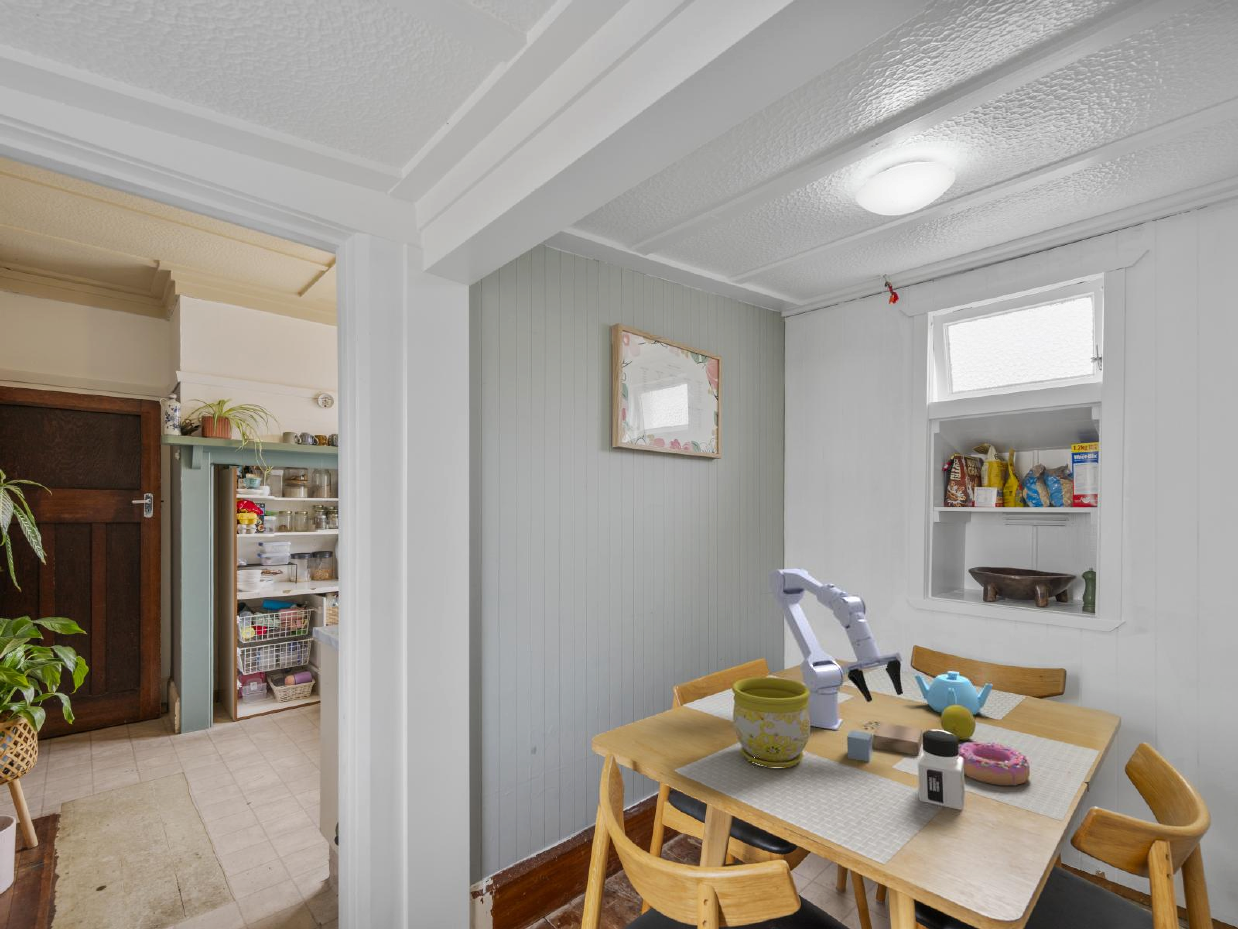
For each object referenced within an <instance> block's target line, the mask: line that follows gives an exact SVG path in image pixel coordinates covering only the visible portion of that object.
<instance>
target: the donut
mask: <svg viewBox="0 0 1238 929" xmlns="http://www.w3.org/2000/svg"><path fill="white" fill-rule="evenodd" d="M958 749H959V757H962V758H963V759H964V776H965V775H966V776H967V777H969V778H971V779H974V780H975V781H979V782H982V783H986V784H989V783H990V785H995V786H1004V785H1006V786H1009V785H1010V786H1017V785H1018V784H1019V785H1021V784H1024V783H1025V782H1027V781H1028V779H1029V777H1030V773H1031V770H1030V769H1031V768H1030V767H1031V766H1030V763H1029V762H1028V760H1027V756H1025V755H1023V753H1021V752H1019V751H1018V750H1016V749H1013V748H1011V747H1010V746H1009V747H1008V746H1005V745H1002V744H998V743H996V744H995V743H994V742H992V743H991V742H979V741H978V742H977V741H973V742H970V741H969V742H964V743H961V744H958Z"/></svg>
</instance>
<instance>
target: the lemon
mask: <svg viewBox="0 0 1238 929" xmlns="http://www.w3.org/2000/svg"><path fill="white" fill-rule="evenodd" d="M940 724H941V727H942V730H943V731H947V732H949V733H951V734H953V735H955V736H956V737H957V738H958V741H965V740H968V739H970V738H971V737H973V734H974V733H975V730H976V718H975V716H973V715H972V714H971V712H970V711H969V710H968V709H966V708H965V707H963V706H960V705H952V706H949V707H947V708H946V709H945V710H944V711H943V713H941V715H940Z"/></svg>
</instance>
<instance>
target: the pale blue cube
mask: <svg viewBox="0 0 1238 929" xmlns="http://www.w3.org/2000/svg"><path fill="white" fill-rule="evenodd" d="M846 738H847V739H846V742H847V743H846V744H847V759H851V760H852V759H853V760H857V761H861V760H863V761H862V762H867V763H870V761H871V759H872V757H873V755H874V754H873V733H871V732H864V731H859V730H854V729H853V730H852V729H850V731H849V733H848V734H847V736H846Z"/></svg>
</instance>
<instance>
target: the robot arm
mask: <svg viewBox="0 0 1238 929" xmlns="http://www.w3.org/2000/svg"><path fill="white" fill-rule="evenodd" d="M768 584H769V587H770V589H771V591H772V594H773V595H774V598H775V599H776V601H777V603H778V607H779V608H780V610H781V612H782V614H783V616H784V618H785V621H786V622H787V625H788V627H789V629H790V632H791V633H792V635H793V638H794V640H795V642H796V643H797V646H798V648H799V650H800V652H801V655H802V656H803V658H804V659H803V661H802V662H801V664H800V671H801V676H802V680H803V683H804V685H805V686H806V687H808V688H809V690H810V696H809V698H808V701H809V705H808V709H809V715H810V727H816V728H821V729H822V728H823V729H828V730H835V731H837V730H838V729H839V728H840V726H841V724H842V723H843V718H839V694H838V692H840V690H841V687H842V686H843V684H844V682H845V675H847V678H848V680H849V681H851V682H852V683H853V684H854V685H855V687H856V688H857V689H858V690H859V691H860V692H861V694H862V696H863V698H864V699H865V701H866V702H867V703H870V702H872V701H873V697H872V694H871V692H870V690H869V687H868V685H867V683H866V679H865V675H864V672H863V670H864V671H865V670H868V669H872V668H877V667H881V666H886V667H885V671H886V673H887V675H888V676H889V678H890V681H891V682H892V685H893V688H894V690H895V692H896V694H897V696H901V695H903V694H904V691H903V687H902V681H901V680H902V678H901V667H902V664H901V662H902V661H903V658H902V656H901V653H900V652H894V653H888V654H882V655H881V652H880V650H879V647H878V646H877V645H878V644H877V643H876V640H875V637H874V635H873V633H872V631H871V628H870V626H869V624H868V621H867V619H866V616H865V615H866V613H867V612H866V611H867V608H866V607H867V606H866V603H865V601H864V599H863V598H862V597H860V596H859V595H858V594H857V595H856V594H853V595H850V594H848V593H847V592H846V591H844V590H843V591H842V590H840V589H839V588H837V587H836V585H835V584H834V583H825V584H823V583H821V582H820V581H818V580H817V579H815V578H814V577H813V576H811V575H810V574H809V572H808V570H805V569H804V568H801V567H796V568H788V569H787V568H785V569H777V568H775V569H773V570H772V571H771V573H770V576H769V583H768ZM805 591H807V592H809V593H810V594H812V595H813V596H816V601H817V602H818V603H820V604H821V605H823V606H824V607H826V608H828V609H829V610H831V611H832V614H833V615H834V616H833V617H835V618H836V619H837V620H838V621H839V623H840V625H841V626H842V627H843V628H844V629H845V633H846V635H847V638H848V640H849V642H850V645H851V648H852V650H853V653H854V655H855V658H856V661H853V662H850V663H847V664H843V665H841V666H840V665H839V664H838V663H837V662H836V660H835V659H834V658H835V657H833V656H831V655H830V654H828V653H826V652H824V651H823V649H822V648H821V645H820V643H819V641H818V639H817V637H816V635H815V633H814V632H813V629H812V628H811V625H810V623H809V621H808V619H807V618H806V615H805V614H804V612H803V609H802V608H801V606H800V603H799V602H800V601H801V600H802V599H803V598H804V594H805Z"/></svg>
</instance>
